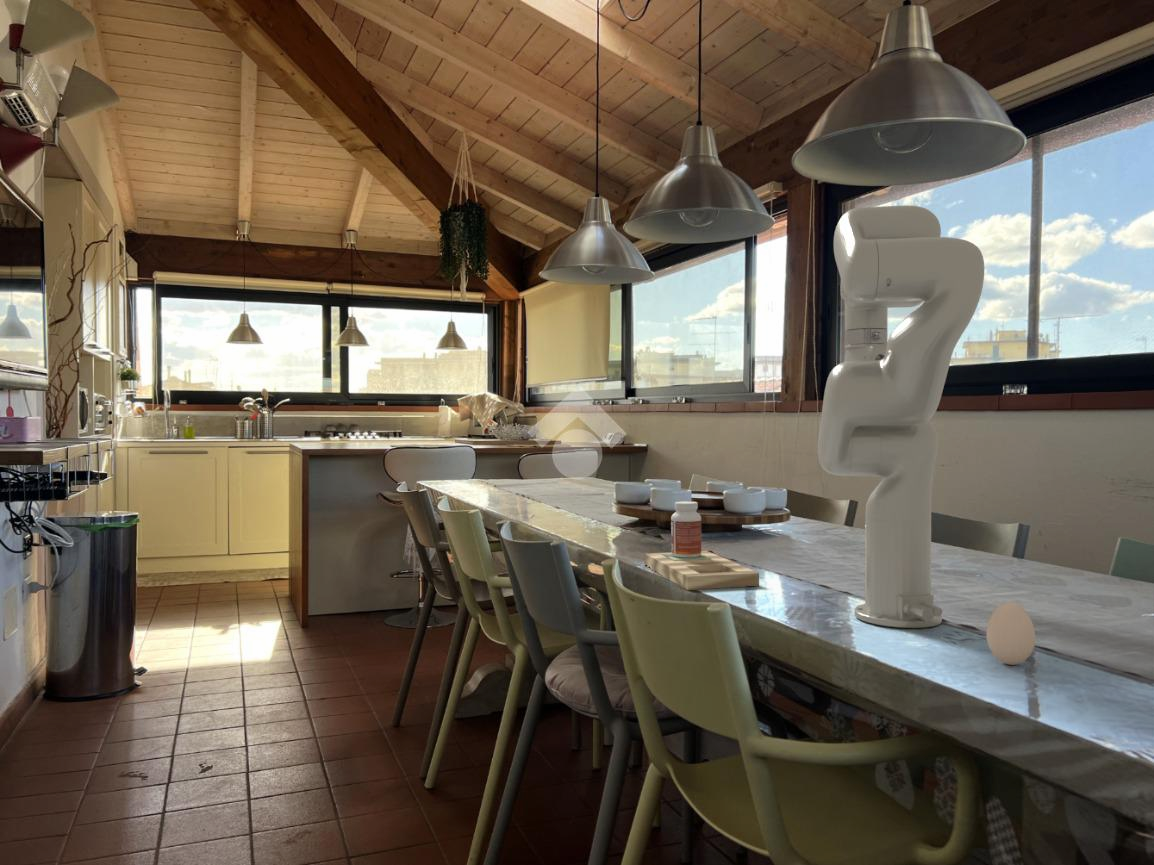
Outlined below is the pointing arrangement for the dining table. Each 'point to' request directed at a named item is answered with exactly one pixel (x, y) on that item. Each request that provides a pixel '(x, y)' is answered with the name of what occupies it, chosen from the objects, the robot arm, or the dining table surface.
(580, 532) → the dining table surface
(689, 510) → the pill bottle
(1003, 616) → the egg
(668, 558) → the pocket board
